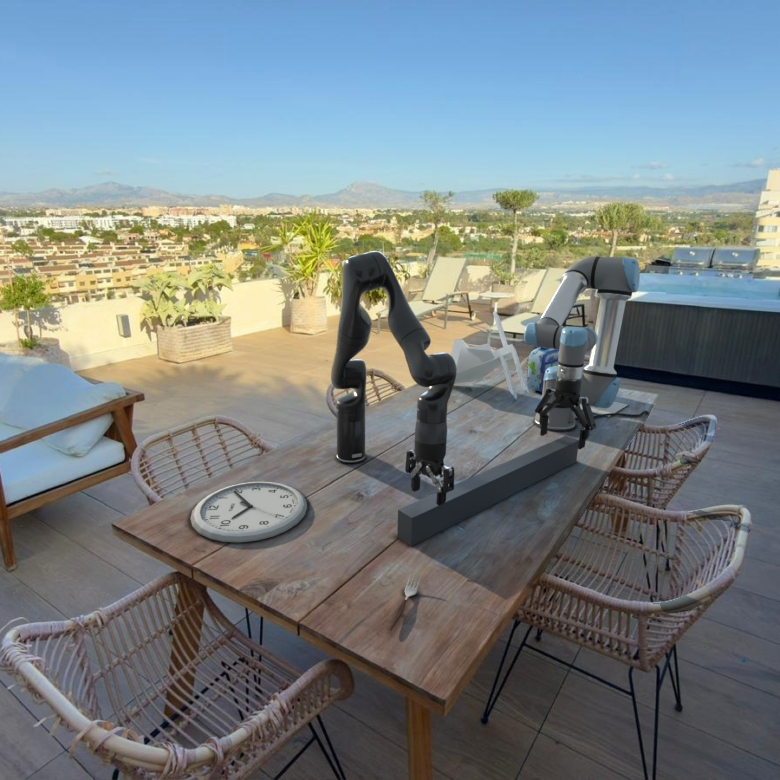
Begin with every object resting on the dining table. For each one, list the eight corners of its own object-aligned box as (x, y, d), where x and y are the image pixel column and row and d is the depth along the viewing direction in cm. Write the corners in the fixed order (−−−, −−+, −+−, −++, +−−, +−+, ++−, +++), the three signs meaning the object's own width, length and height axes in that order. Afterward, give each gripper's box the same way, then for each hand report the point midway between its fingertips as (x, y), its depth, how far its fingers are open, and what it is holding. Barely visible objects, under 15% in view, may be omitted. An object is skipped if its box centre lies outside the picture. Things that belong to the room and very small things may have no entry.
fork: (383, 631, 98) (383, 622, 98) (409, 580, 113) (410, 572, 112) (396, 635, 98) (396, 626, 97) (421, 583, 112) (421, 575, 111)
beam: (562, 456, 176) (565, 435, 173) (576, 461, 172) (579, 440, 170) (397, 537, 129) (397, 509, 126) (411, 546, 125) (412, 518, 123)
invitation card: (608, 416, 214) (573, 407, 224) (608, 416, 214) (573, 408, 224) (628, 404, 229) (594, 396, 238) (628, 405, 229) (594, 397, 238)
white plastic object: (461, 429, 252) (437, 405, 227) (444, 352, 274) (420, 323, 250) (535, 404, 240) (518, 377, 215) (510, 326, 262) (492, 293, 237)
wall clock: (302, 534, 126) (174, 538, 123) (303, 540, 126) (175, 544, 124) (310, 477, 154) (206, 479, 152) (310, 482, 155) (206, 484, 152)
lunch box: (542, 396, 239) (547, 351, 232) (522, 391, 246) (526, 347, 240) (570, 385, 256) (575, 343, 250) (550, 380, 263) (554, 339, 257)
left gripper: (398, 431, 126) (397, 491, 131) (442, 450, 116) (438, 514, 121) (420, 424, 131) (418, 481, 136) (464, 442, 121) (459, 503, 126)
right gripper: (527, 371, 167) (522, 432, 174) (601, 390, 149) (592, 457, 156) (541, 367, 172) (535, 426, 179) (614, 384, 154) (604, 450, 161)
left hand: (427, 497), depth 129 cm, fingers open, 8 cm apart
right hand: (561, 441), depth 167 cm, fingers open, 13 cm apart
